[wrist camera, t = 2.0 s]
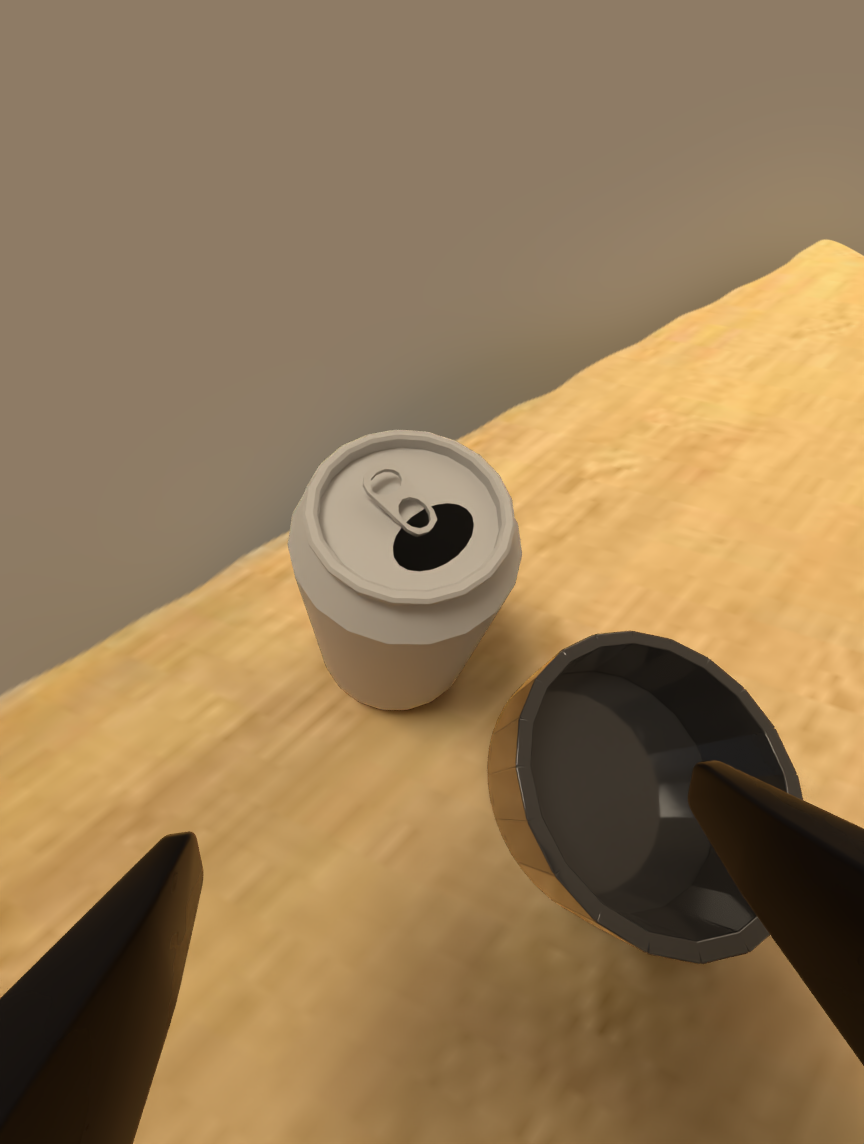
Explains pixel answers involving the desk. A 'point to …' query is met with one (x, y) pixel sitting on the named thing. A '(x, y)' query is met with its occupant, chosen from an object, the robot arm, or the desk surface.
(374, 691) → the can
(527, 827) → the bowl
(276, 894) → the desk surface
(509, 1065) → the desk surface
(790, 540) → the desk surface
